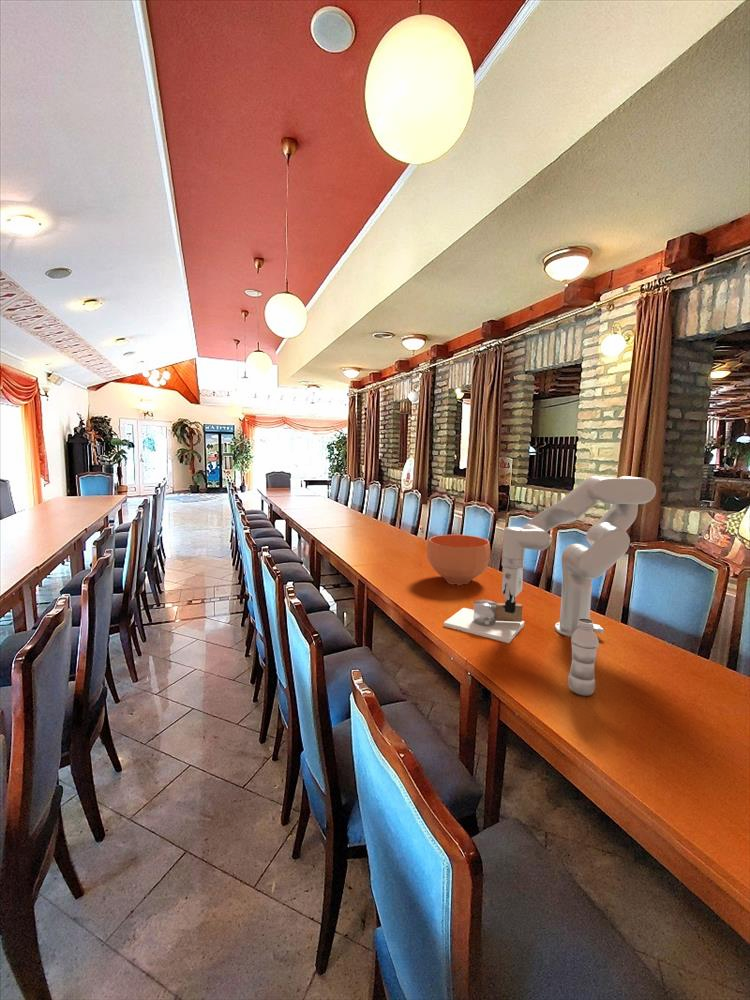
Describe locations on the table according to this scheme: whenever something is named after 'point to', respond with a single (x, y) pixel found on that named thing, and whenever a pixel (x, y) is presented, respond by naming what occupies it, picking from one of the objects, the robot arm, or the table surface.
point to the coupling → (494, 613)
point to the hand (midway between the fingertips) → (509, 611)
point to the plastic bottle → (583, 658)
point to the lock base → (484, 626)
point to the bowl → (458, 557)
